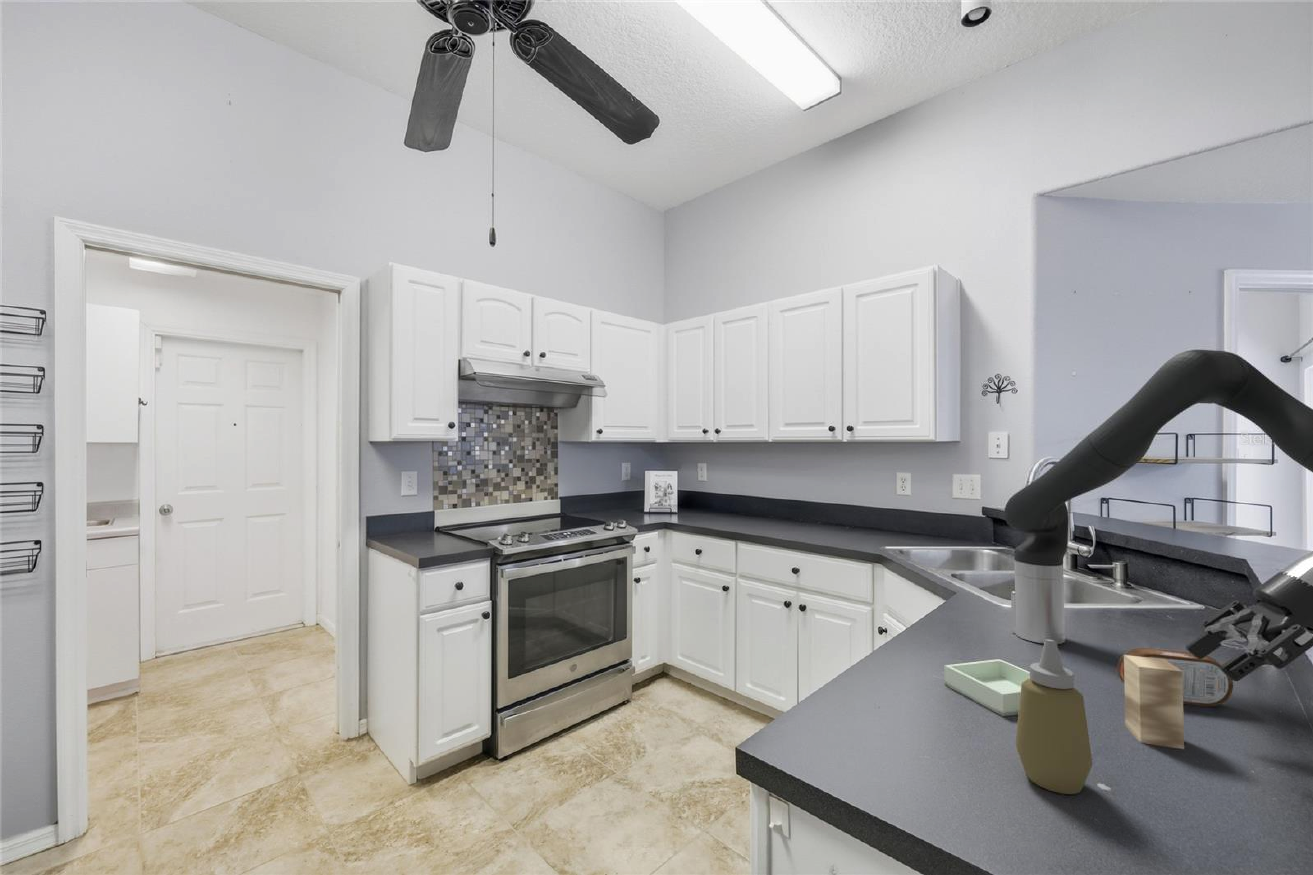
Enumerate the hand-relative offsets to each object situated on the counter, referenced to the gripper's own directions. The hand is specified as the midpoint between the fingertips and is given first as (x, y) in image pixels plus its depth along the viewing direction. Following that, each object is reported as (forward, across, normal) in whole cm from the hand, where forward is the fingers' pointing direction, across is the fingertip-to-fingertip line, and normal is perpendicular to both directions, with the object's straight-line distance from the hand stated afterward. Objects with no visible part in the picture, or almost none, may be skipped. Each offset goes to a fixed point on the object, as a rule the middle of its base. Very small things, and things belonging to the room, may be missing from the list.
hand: (1208, 664), depth 80 cm
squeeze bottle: (+26, +18, -9) cm, 33 cm away
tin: (+6, -16, +10) cm, 20 cm away
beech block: (+13, 0, +4) cm, 13 cm away
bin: (+26, -8, -9) cm, 28 cm away
